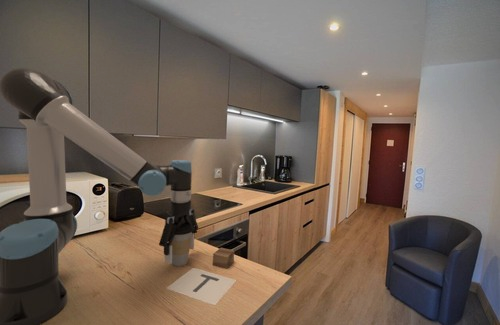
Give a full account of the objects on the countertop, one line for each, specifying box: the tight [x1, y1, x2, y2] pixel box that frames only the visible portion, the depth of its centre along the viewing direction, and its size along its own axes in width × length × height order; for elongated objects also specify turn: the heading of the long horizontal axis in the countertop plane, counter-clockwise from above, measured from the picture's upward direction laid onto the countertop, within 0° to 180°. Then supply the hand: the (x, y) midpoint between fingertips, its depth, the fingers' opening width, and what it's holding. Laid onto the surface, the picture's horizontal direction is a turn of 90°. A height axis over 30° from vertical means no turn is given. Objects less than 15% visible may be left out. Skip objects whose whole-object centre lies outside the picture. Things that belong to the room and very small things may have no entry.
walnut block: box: [212, 247, 235, 270], centre depth 90 cm, size 6×6×5 cm
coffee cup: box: [171, 223, 193, 267], centre depth 89 cm, size 9×9×15 cm
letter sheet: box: [165, 267, 237, 306], centre depth 76 cm, size 14×18×1 cm
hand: (180, 255), depth 90 cm, fingers open, 12 cm apart
